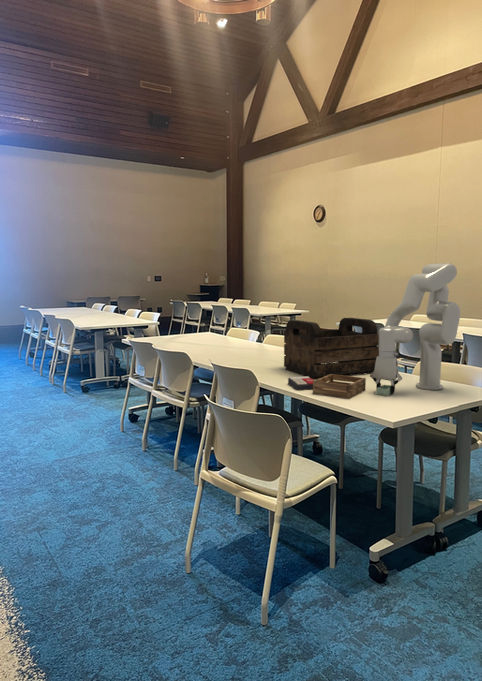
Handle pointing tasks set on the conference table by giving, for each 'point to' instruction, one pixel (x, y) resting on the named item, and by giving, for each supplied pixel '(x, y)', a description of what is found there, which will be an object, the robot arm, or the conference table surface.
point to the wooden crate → (330, 348)
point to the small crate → (383, 390)
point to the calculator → (301, 383)
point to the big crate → (339, 386)
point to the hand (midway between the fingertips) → (385, 392)
